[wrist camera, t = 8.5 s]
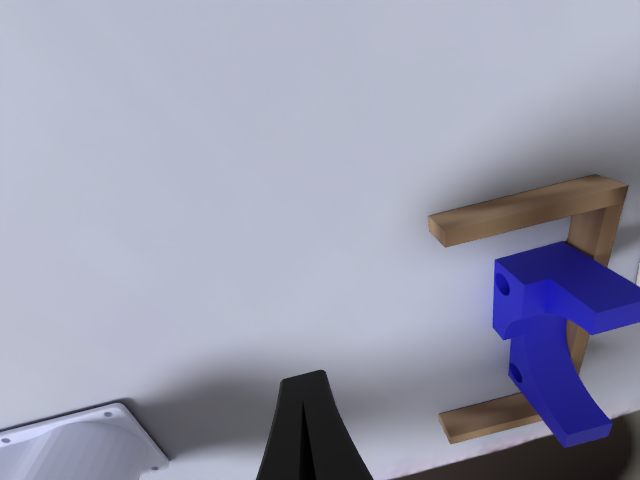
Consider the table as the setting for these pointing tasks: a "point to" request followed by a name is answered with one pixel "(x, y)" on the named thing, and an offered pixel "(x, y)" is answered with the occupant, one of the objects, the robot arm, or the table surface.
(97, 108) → the table surface
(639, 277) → the ink cartridge box
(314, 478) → the robot arm
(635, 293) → the blue curved bracket
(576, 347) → the frame
